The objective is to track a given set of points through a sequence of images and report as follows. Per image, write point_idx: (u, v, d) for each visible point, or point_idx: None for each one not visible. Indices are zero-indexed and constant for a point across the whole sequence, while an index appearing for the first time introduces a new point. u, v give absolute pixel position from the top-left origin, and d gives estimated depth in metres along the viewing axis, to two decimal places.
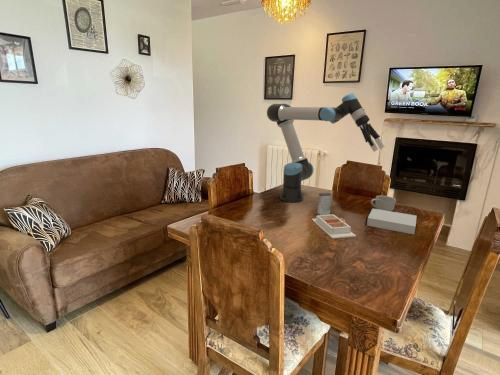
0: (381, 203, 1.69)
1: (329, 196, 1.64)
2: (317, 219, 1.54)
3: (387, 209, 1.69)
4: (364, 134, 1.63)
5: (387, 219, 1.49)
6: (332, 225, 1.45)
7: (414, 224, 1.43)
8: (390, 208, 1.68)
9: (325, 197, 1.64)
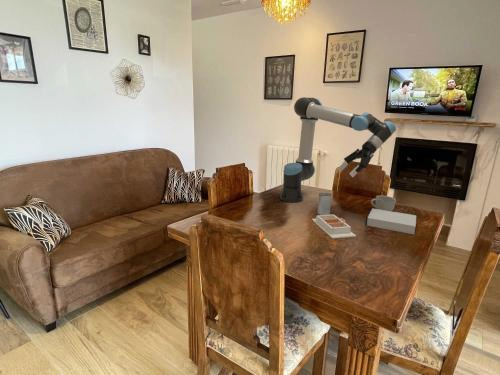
0: (381, 203, 1.69)
1: (329, 196, 1.64)
2: (317, 219, 1.54)
3: (387, 209, 1.69)
4: (367, 161, 1.55)
5: (387, 219, 1.49)
6: (332, 225, 1.45)
7: (414, 224, 1.43)
8: (390, 208, 1.68)
9: (325, 197, 1.64)
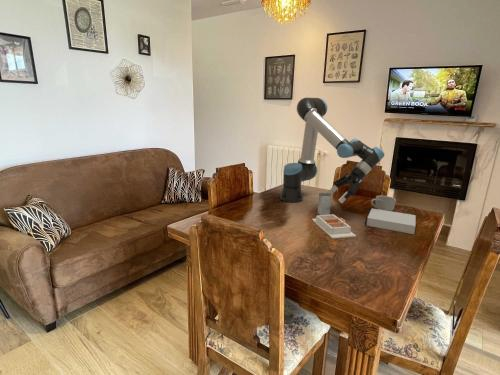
0: (381, 203, 1.69)
1: (329, 196, 1.64)
2: (317, 219, 1.54)
3: (387, 209, 1.69)
4: (355, 187, 1.56)
5: (387, 219, 1.49)
6: (332, 225, 1.45)
7: (414, 224, 1.43)
8: (390, 208, 1.68)
9: (325, 197, 1.64)
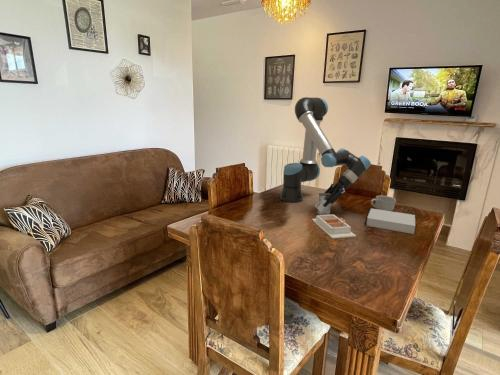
0: (381, 203, 1.69)
1: (329, 196, 1.64)
2: (317, 219, 1.54)
3: (387, 209, 1.69)
4: (335, 197, 1.60)
5: (386, 219, 1.49)
6: (332, 225, 1.45)
7: (413, 224, 1.44)
8: (390, 208, 1.68)
9: (325, 197, 1.64)
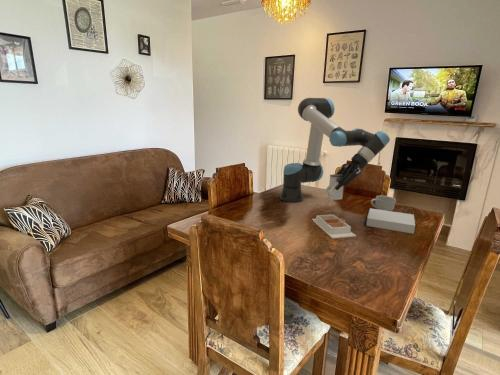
0: (381, 203, 1.69)
1: (342, 177, 1.42)
2: (317, 219, 1.54)
3: (387, 209, 1.69)
4: (349, 178, 1.38)
5: (386, 219, 1.49)
6: (332, 225, 1.45)
7: (413, 223, 1.44)
8: (390, 208, 1.68)
9: (338, 178, 1.42)
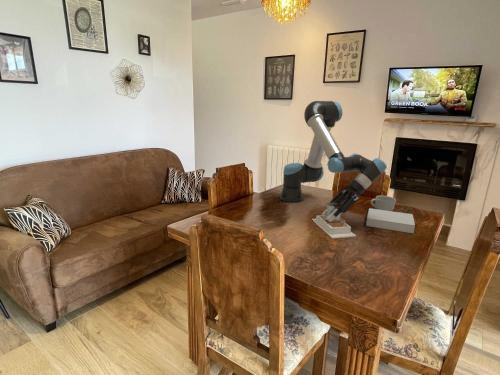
0: (381, 203, 1.69)
1: (339, 206, 1.45)
2: (317, 219, 1.54)
3: (387, 209, 1.69)
4: (347, 205, 1.40)
5: (386, 219, 1.49)
6: (332, 225, 1.45)
7: (413, 223, 1.44)
8: (390, 208, 1.68)
9: (335, 207, 1.45)
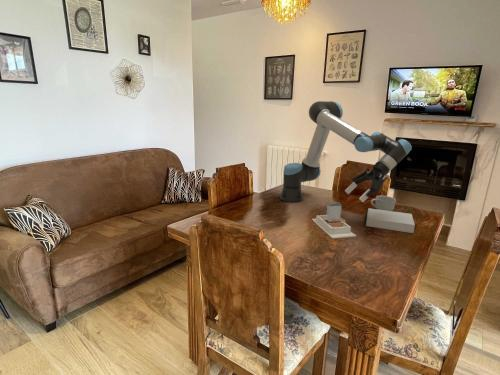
0: (381, 203, 1.69)
1: (339, 206, 1.45)
2: (317, 219, 1.54)
3: (387, 209, 1.69)
4: (379, 184, 1.38)
5: (386, 219, 1.50)
6: (332, 225, 1.45)
7: (413, 223, 1.45)
8: (390, 208, 1.68)
9: (335, 207, 1.45)
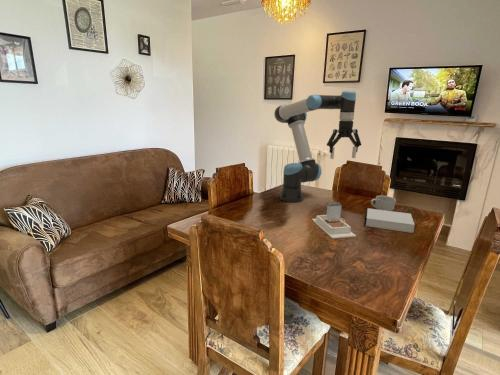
0: (381, 203, 1.69)
1: (339, 206, 1.45)
2: (317, 219, 1.54)
3: (387, 209, 1.69)
4: (330, 139, 1.64)
5: (385, 219, 1.50)
6: (332, 225, 1.45)
7: (412, 222, 1.45)
8: (390, 208, 1.68)
9: (335, 207, 1.45)
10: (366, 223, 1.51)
